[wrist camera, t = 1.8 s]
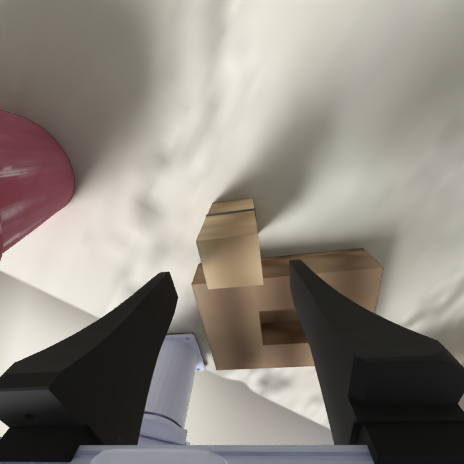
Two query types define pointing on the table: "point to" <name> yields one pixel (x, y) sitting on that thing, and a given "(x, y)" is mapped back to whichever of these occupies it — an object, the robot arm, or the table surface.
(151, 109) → the table surface
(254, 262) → the oak peg
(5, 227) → the plant pot
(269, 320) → the walnut socket block
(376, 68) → the table surface
